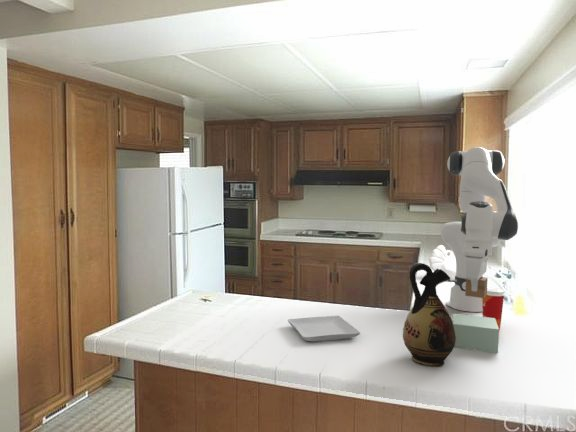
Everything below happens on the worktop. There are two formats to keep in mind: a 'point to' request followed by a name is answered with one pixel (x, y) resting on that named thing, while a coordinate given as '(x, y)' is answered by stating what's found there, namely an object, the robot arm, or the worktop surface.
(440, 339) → the ceramic jug
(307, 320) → the salad plate
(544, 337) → the worktop surface
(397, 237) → the worktop surface
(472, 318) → the sage box
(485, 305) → the coffee cup
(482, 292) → the walnut block
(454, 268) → the decorative rooster
